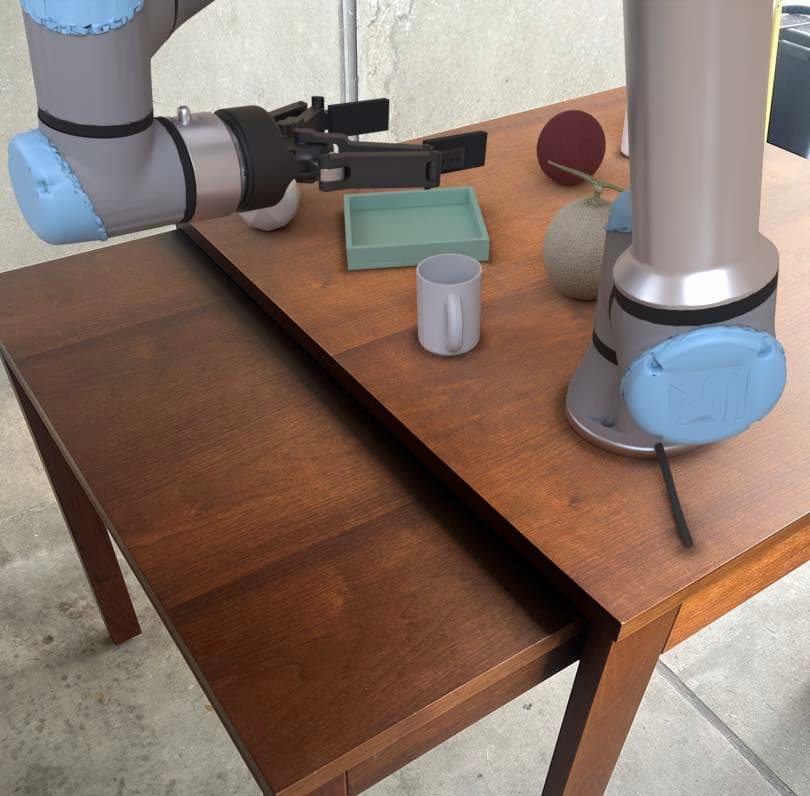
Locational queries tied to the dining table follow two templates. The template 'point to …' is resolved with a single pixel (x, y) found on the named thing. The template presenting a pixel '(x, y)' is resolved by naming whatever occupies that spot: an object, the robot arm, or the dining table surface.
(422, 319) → the cup
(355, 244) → the tray
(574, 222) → the fruit
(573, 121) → the decorative ball
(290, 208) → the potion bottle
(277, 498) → the dining table surface
